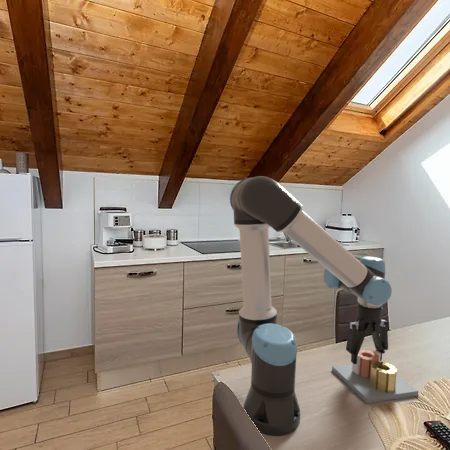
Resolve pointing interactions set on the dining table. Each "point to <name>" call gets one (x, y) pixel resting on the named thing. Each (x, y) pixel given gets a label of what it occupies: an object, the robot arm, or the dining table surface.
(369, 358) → the gear red
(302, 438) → the dining table surface
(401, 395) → the peg board
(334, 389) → the dining table surface
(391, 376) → the gear brass
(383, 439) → the dining table surface
